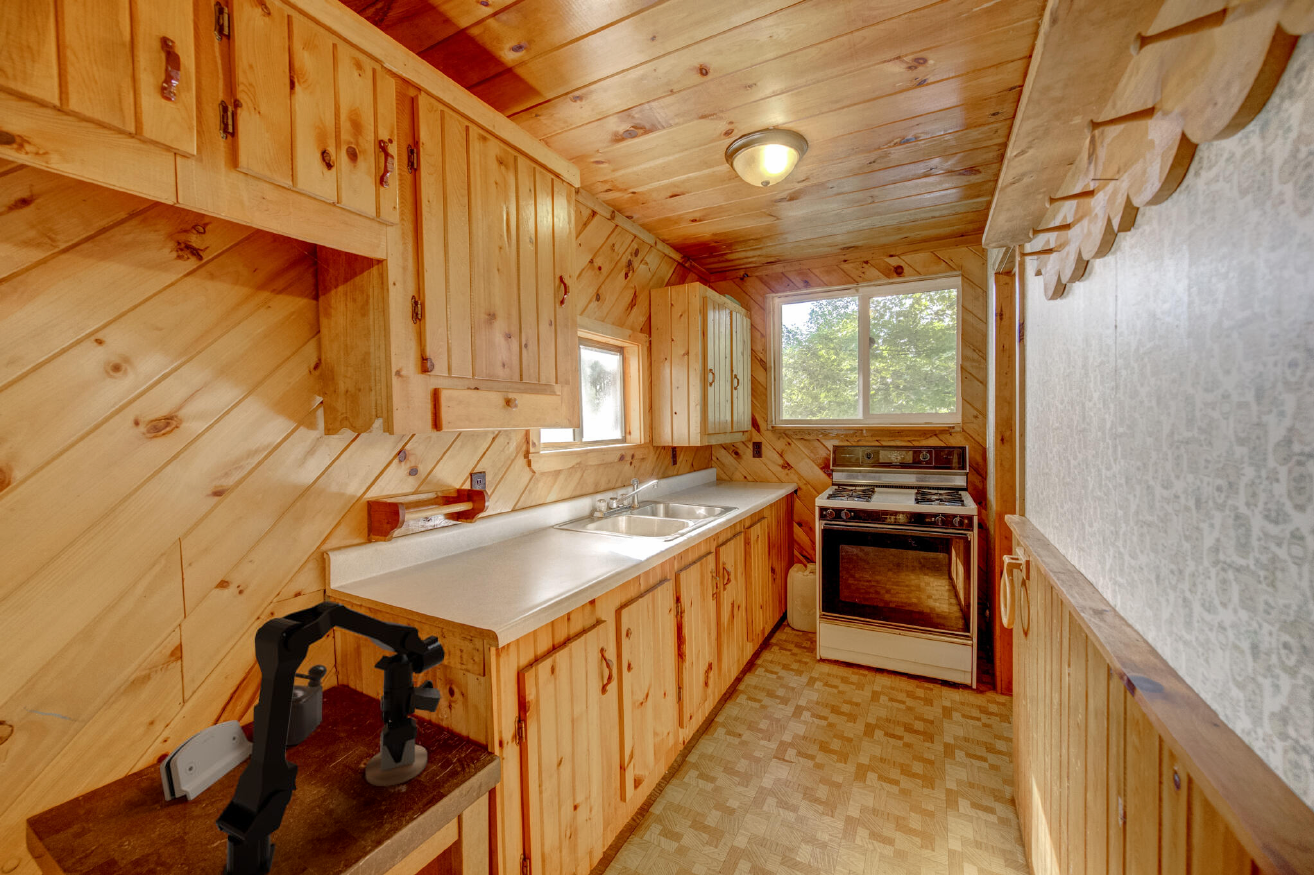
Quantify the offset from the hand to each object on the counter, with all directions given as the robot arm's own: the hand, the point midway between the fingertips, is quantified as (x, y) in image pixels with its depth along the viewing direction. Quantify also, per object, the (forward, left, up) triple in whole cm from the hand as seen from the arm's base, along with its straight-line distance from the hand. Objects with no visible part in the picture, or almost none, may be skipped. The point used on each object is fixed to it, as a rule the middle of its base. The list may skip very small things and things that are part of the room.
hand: (397, 754), depth 112 cm
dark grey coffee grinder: (+25, +20, -3) cm, 32 cm away
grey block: (0, 0, -1) cm, 1 cm away
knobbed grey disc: (0, 0, -3) cm, 3 cm away
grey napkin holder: (+17, +35, -3) cm, 39 cm away
